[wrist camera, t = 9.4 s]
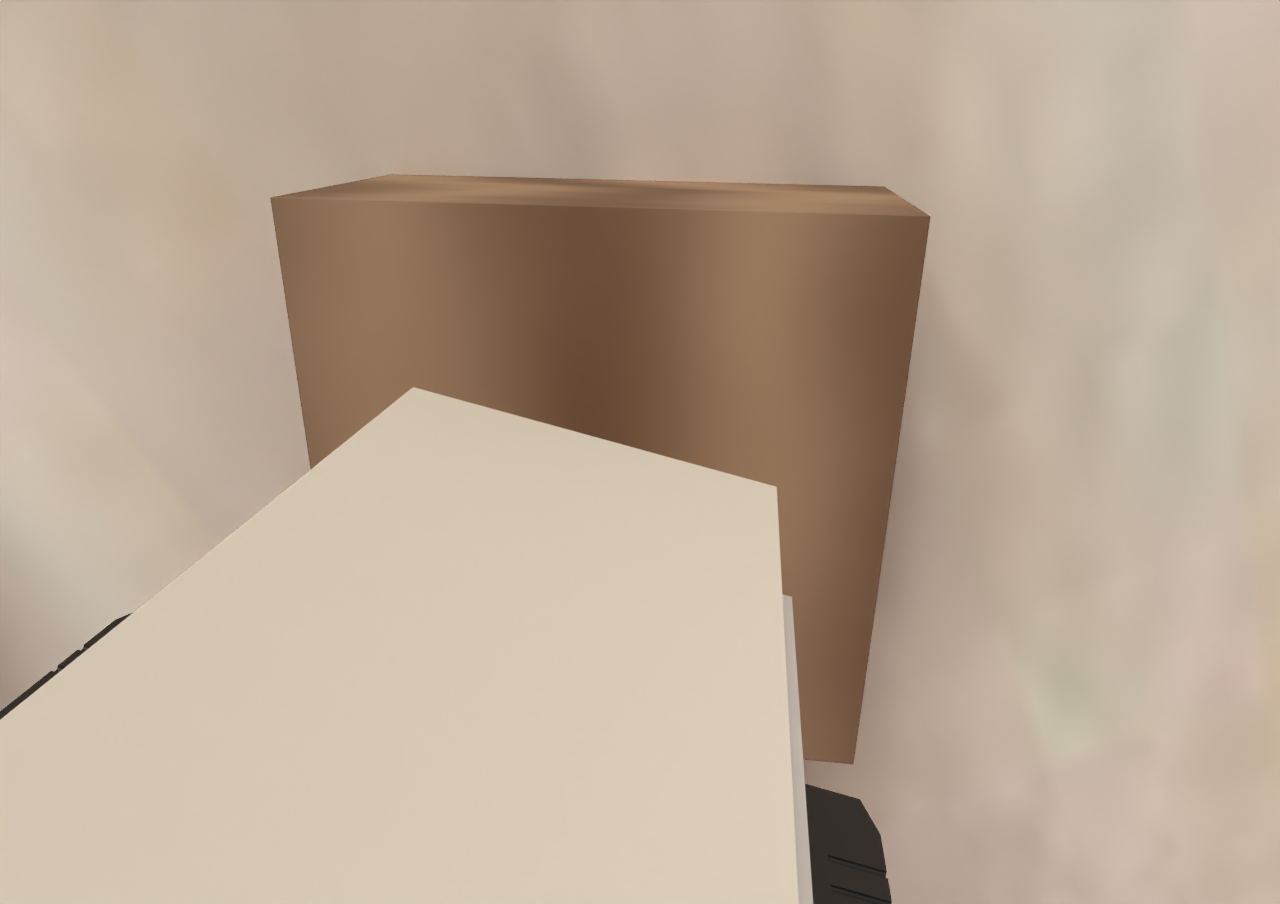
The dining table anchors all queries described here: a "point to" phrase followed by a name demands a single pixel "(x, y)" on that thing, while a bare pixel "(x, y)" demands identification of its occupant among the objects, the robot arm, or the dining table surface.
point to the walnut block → (641, 348)
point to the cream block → (432, 691)
